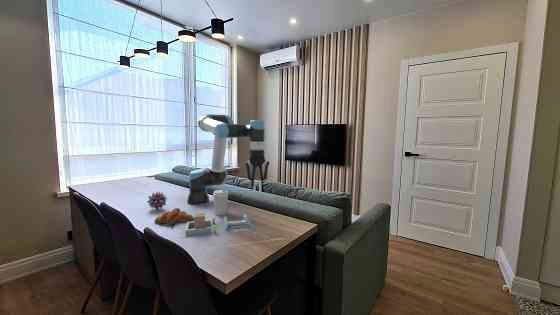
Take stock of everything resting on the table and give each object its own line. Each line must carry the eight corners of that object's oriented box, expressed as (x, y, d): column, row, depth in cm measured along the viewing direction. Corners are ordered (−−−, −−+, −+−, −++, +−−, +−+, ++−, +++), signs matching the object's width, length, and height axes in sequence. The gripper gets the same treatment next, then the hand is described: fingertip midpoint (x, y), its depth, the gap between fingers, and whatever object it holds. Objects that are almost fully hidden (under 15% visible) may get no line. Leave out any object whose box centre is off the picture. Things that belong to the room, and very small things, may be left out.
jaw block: (195, 227, 126) (194, 212, 125) (205, 226, 127) (204, 212, 126) (194, 232, 120) (194, 216, 119) (205, 231, 121) (204, 215, 120)
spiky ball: (168, 205, 165) (167, 188, 163) (166, 211, 153) (165, 193, 152) (149, 207, 161) (148, 190, 160) (146, 213, 150) (145, 194, 148)
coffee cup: (225, 218, 142) (224, 193, 141) (210, 217, 144) (209, 192, 143) (231, 213, 152) (231, 189, 150) (217, 211, 153) (217, 188, 152)
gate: (224, 223, 131) (223, 214, 130) (245, 221, 134) (245, 212, 134) (225, 229, 123) (225, 220, 123) (247, 227, 127) (247, 218, 126)
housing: (182, 227, 128) (182, 219, 128) (249, 220, 139) (249, 213, 139) (179, 240, 113) (179, 231, 113) (254, 231, 124) (254, 223, 123)
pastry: (164, 230, 124) (164, 215, 124) (153, 222, 135) (153, 209, 134) (195, 222, 137) (194, 208, 136) (182, 215, 147) (182, 202, 146)
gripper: (243, 150, 122) (243, 195, 124) (273, 149, 127) (272, 193, 129) (241, 149, 129) (241, 191, 132) (269, 148, 134) (269, 190, 136)
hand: (257, 192), depth 130 cm, fingers open, 3 cm apart
